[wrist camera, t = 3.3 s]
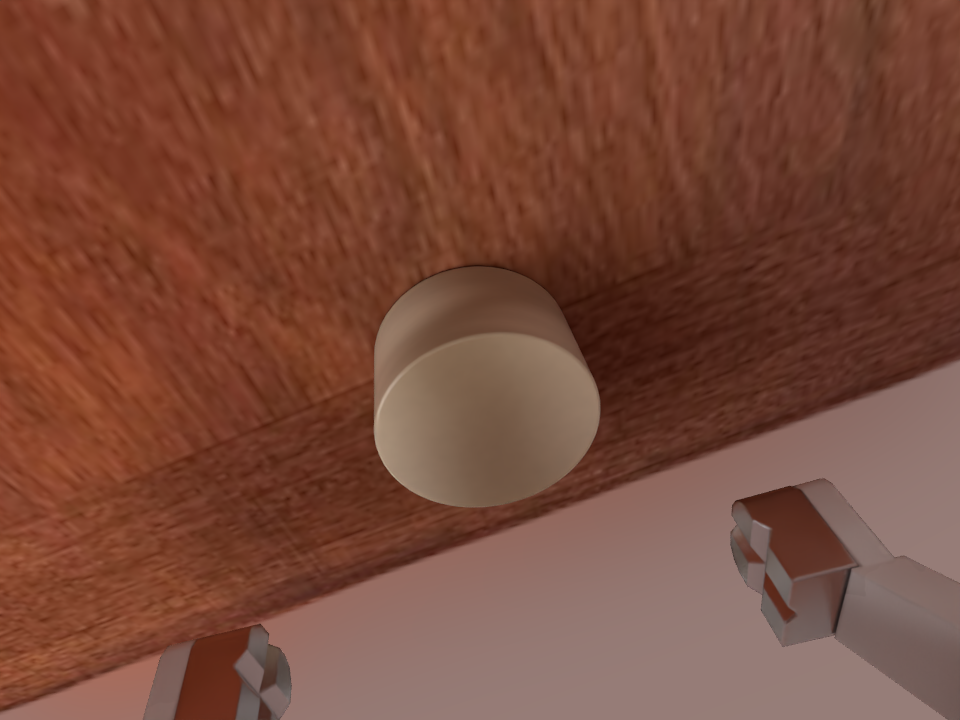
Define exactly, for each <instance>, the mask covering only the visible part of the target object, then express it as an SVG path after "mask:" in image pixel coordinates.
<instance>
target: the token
mask: <svg viewBox="0 0 960 720" xmlns="http://www.w3.org/2000/svg"><path fill="white" fill-rule="evenodd" d="M599 419H600V397H599V392H598V388H597V386H596V383H595V381H594V378H593V376H592V374H591V372H590V370H589V368H588V366H587V363H586V361H585V359H584V357H583V355H582V353H581V351H580V349H579V347H578V344H577V342H576V340H575V338H574V336H573V334H572V332H571V330H570V327H569V325H568V323H567V321H566V319H565V317H564V315H563V313H562V311H561V309H560V307H559V306H558V304H557V302H556V301H555V300H554V299H553V297H552V296H551V295H550V294H549V293H548V292H547V291H546V290H545V289H544V288H542V287H541V286H540V285H539V284H537V283H536V282H534V281H532V280H531V279H529V278H527V277H525V276H523V275H521V274H518V273H515V272H512V271H509V270H506V269H500V268H495V267H482V266H475V267H463V268H458V269H453V270H449V271H446V272H442V273H439V274H437V275H434V276H432V277H430V278H428V279H425V280H424V281H422V282H420V283H419V284H417V285H415V286H414V287H413V288H411V289H410V290H409V291H408V292H406V293H405V294H404V295H403V296H402V297H401V298H400V299H399V300H398V301H397V302H396V303H395V304H394V305H393V306H392V308H391V309H390V310H389V312H388V313H387V314H386V316H385V318H384V320H383V322H382V324H381V326H380V328H379V331H378V334H377V338H376V343H375V352H374V436H375V444H376V447H377V450H378V453H379V456H380V458H381V460H382V461H383V463H384V465H385V467H386V468H387V469H388V471H389V472H390V473H391V475H392V476H393V477H394V478H395V479H396V480H397V481H398V482H399V483H401V484H402V485H403V486H405V487H406V488H407V489H409V490H410V491H412V492H414V493H416V494H417V495H419V496H421V497H424V498H426V499H429V500H431V501H434V502H438V503H441V504H446V505H451V506H458V507H489V506H497V505H502V504H507V503H511V502H515V501H518V500H522V499H524V498H527V497H529V496H532V495H534V494H536V493H538V492H540V491H542V490H544V489H546V488H548V487H550V486H551V485H553V484H554V483H556V482H558V481H559V480H560V479H561V478H563V477H564V476H565V475H567V474H568V473H569V472H570V471H571V470H572V469H573V468H574V467H575V466H576V465H577V464H578V463H579V461H580V460H581V459H582V458H583V457H584V455H585V454H586V452H587V451H588V449H589V447H590V446H591V444H592V442H593V439H594V437H595V435H596V432H597V428H598V425H599Z"/></svg>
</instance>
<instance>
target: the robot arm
mask: <svg viewBox="0 0 960 720" xmlns="http://www.w3.org/2000/svg"><path fill="white" fill-rule="evenodd" d="M732 517H733V518H734V520H735V521H736V523H737V525H736V526H735V528H734V529H733V530H732V531H731V549H732V553H733V557H734V560H735V563H736V565H737V567H738V570H739V572H740V574H741V576H742V577H743V579H744V581H745V583H746V585H747V586H748V587H750V588H751V589H753V590H755V591H756V592H758V593H760V594H761V595H762V604H761V611H762V613H763V614H764V616H765V618H766V619H767V621H768V623H769V625H770V626H771V628H772V630H773V631H774V633H775V635H776V637H777V638H778V640H779V642H780V644H781V645H782V647H785V646H789V645H793V644H798V643H802V642H806V641H811V640H815V639H820V638H824V637H829V636H833V635H835V637H834V638H835V639H836V640H838V641H839V642H840V643H842V644H843V645H845V646H846V647H847V648H849V649H850V650H852V651H853V652H854V653H856V654H857V655H859V656H860V657H861V658H863V659H864V660H865V661H867V662H868V663H870V664H871V665H872V666H874V667H875V668H877V669H878V670H879V671H881V672H882V673H884V674H885V675H886V676H888V677H889V678H891V679H892V680H893V681H895V682H896V683H898V684H899V685H900V686H902V687H903V688H904V689H906V690H907V691H909V692H910V693H911V694H913V695H914V696H916V697H917V698H918V699H920V700H921V701H922V702H924V703H925V704H927V705H928V706H929V707H931V708H932V709H934V710H935V711H936V712H938V713H939V714H941V715H942V716H943V717H945V718H946V719H948V720H960V583H958V582H956V581H954V580H952V579H950V578H948V577H946V576H944V575H942V574H940V573H938V572H936V571H934V570H932V569H930V568H928V567H926V566H924V565H922V564H920V563H918V562H916V561H914V560H911V559H910V558H907V557H906V556H900V557H895V558H894V556H893V555H892V554H891V553H890V552H889V551H888V549H887V548H886V547H885V546H884V545H883V544H882V542H881V541H880V540H879V539H878V538H877V536H876V535H875V534H874V533H873V532H872V531H871V529H870V528H869V527H868V526H867V525H866V523H865V522H864V521H863V520H862V518H861V517H860V516H859V515H858V514H857V513H856V511H855V510H854V509H853V508H852V507H851V506H850V504H849V503H848V502H847V501H846V499H845V498H844V497H843V496H842V495H841V494H840V492H839V491H838V490H837V489H836V488H835V487H834V485H833V484H832V483H831V482H829V481H828V480H826V479H817V480H813V481H810V482H806V483H803V484H799V485H795V486H788V487H784V488H780V489H777V490H773V491H769V492H766V493H762V494H758V495H755V496H751V497H747V498H744V499H740V500H736V501H735V502H734V504H733V505H732ZM268 638H269V633H268V632H267V631H266V630H265V629H264V628H263V626H262V625H261V624H257V625H253V626H249V627H244V628H240V629H236V630H232V631H228V632H224V633H219V634H215V635H211V636H207V637H203V638H197V639H194V640H190V641H186V642H182V643H178V644H174V645H170V646H168V647H167V648H166V650H165V651H164V653H163V654H162V656H161V657H160V660H159V664H158V667H157V671H156V674H155V678H154V681H153V685H152V688H151V692H150V695H149V699H148V703H147V706H146V709H145V713H144V717H143V720H280V718H281V717H282V715H283V714H284V712H285V711H286V709H287V708H288V706H289V704H290V698H291V677H290V668H289V665H288V662H287V659H286V657H285V655H284V653H283V652H282V651H281V649H280V648H278V647H275V646H273V645H270V644H268Z"/></svg>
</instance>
